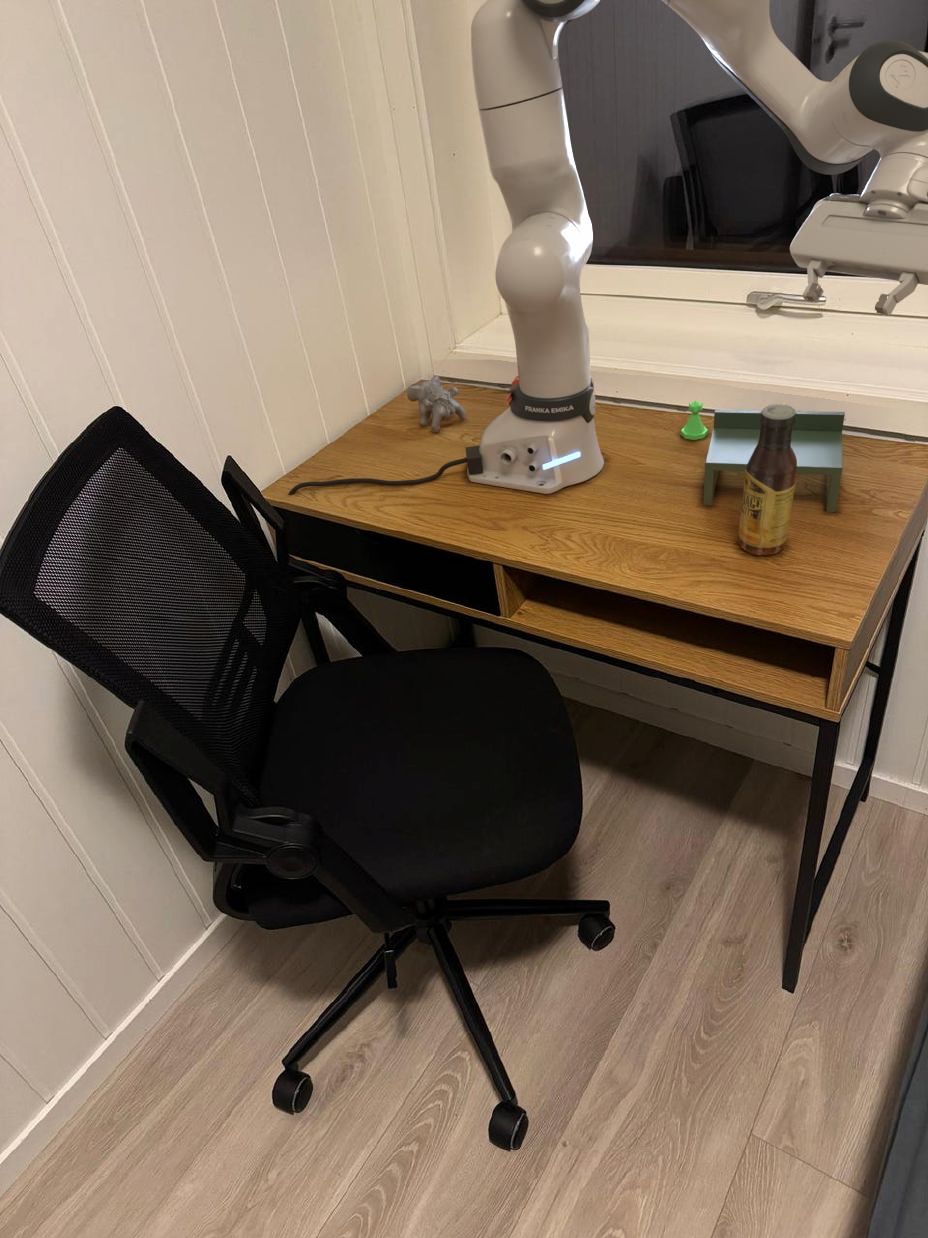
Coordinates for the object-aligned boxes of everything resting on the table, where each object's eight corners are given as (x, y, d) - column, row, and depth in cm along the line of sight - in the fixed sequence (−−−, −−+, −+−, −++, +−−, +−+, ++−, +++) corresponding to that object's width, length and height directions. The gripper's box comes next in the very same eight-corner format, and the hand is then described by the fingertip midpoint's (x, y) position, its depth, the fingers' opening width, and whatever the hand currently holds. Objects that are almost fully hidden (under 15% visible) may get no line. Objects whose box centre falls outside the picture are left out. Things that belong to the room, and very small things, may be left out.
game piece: (694, 426, 146) (695, 392, 142) (713, 433, 143) (714, 400, 139) (675, 434, 144) (676, 401, 141) (694, 442, 141) (695, 408, 138)
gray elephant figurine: (446, 437, 155) (439, 397, 150) (394, 427, 161) (386, 389, 156) (473, 416, 160) (468, 376, 156) (422, 407, 167) (416, 370, 162)
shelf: (703, 505, 125) (706, 445, 120) (711, 466, 134) (715, 409, 128) (835, 512, 120) (845, 450, 114) (835, 471, 128) (844, 411, 123)
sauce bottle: (731, 537, 118) (741, 402, 106) (776, 530, 118) (791, 394, 106) (747, 563, 113) (760, 424, 101) (794, 555, 113) (813, 416, 101)
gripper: (814, 177, 107) (760, 280, 108) (984, 188, 93) (920, 306, 95) (829, 207, 111) (778, 305, 113) (993, 221, 98) (932, 332, 99)
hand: (844, 305), depth 104 cm, fingers open, 8 cm apart
